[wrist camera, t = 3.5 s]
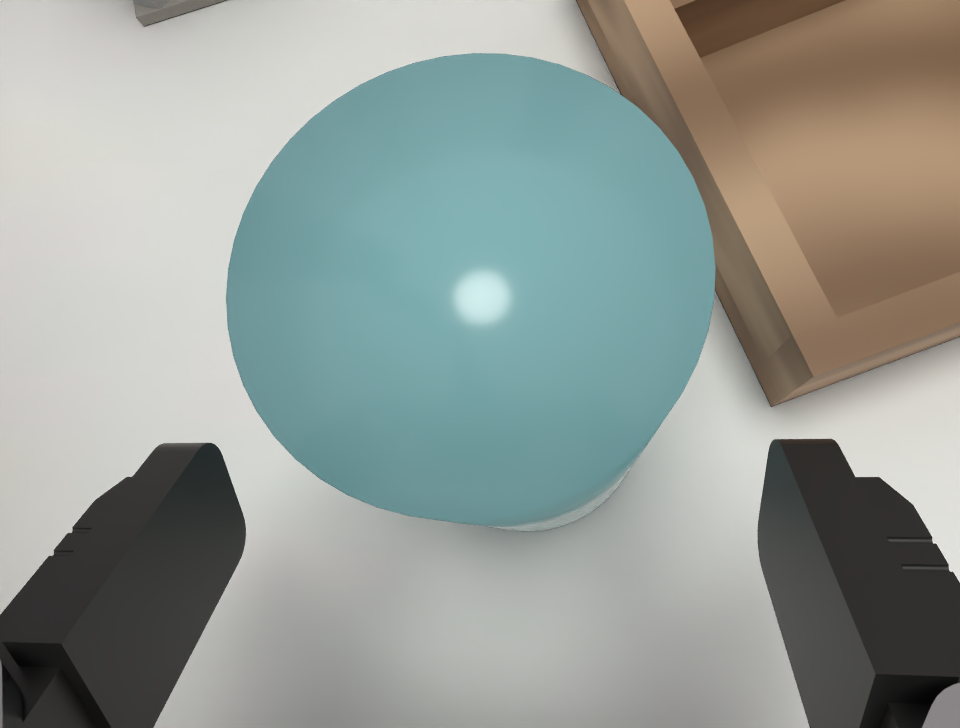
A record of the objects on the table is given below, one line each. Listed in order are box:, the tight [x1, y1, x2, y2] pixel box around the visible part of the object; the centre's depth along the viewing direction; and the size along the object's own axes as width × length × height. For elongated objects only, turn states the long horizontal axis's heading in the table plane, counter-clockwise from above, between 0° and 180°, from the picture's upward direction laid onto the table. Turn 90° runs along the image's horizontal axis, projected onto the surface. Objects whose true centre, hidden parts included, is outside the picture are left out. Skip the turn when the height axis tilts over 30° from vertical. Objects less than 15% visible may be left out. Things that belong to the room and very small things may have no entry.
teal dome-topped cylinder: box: [226, 53, 716, 531], centre depth 14 cm, size 6×6×11 cm
